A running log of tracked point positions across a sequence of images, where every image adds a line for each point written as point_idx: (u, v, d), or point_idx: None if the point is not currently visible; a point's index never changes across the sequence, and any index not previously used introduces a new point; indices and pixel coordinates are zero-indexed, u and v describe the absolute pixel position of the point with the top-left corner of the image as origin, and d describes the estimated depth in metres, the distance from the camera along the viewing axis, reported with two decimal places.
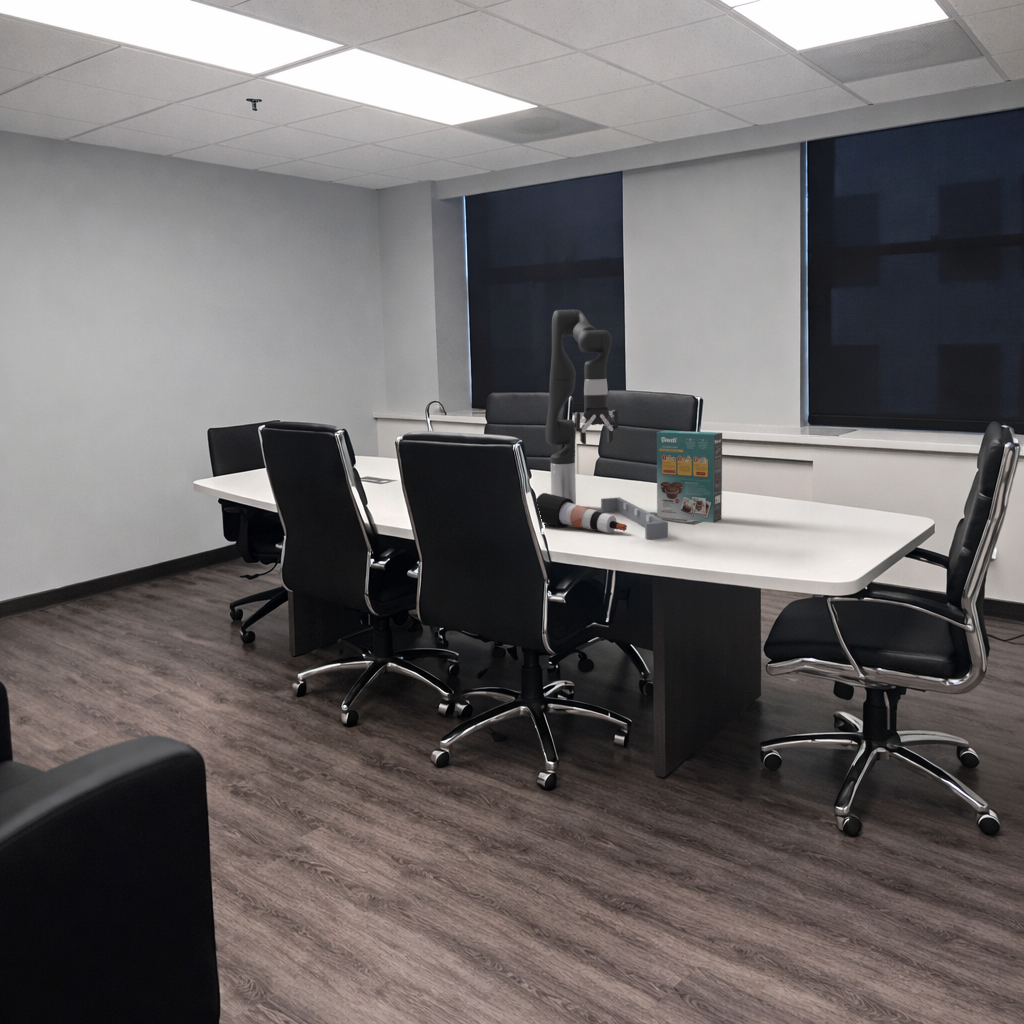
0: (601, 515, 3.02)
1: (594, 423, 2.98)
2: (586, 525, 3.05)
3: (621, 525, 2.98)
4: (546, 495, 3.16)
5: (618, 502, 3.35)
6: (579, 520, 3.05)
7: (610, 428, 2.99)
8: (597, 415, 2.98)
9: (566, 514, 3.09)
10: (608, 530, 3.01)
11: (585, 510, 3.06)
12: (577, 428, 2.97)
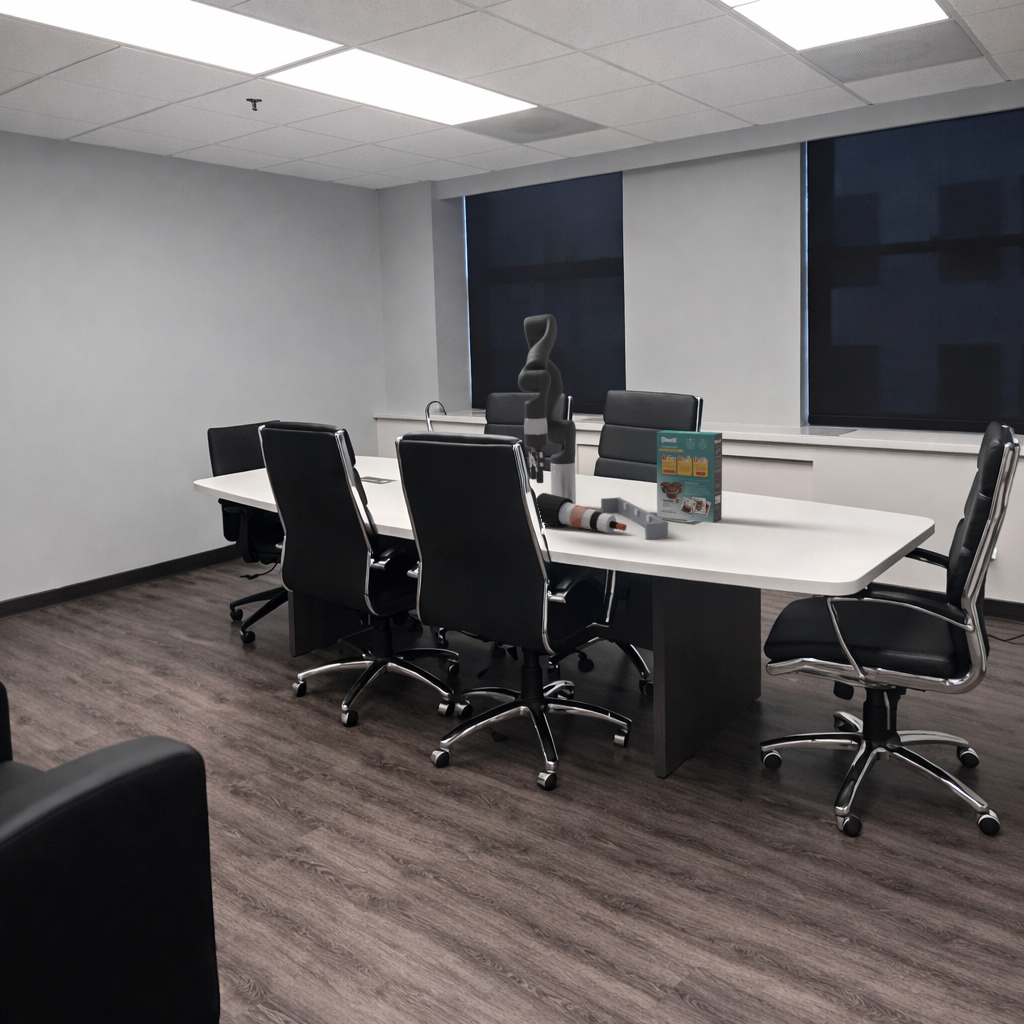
0: (601, 515, 3.02)
1: None
2: (586, 525, 3.05)
3: (621, 525, 2.98)
4: (546, 495, 3.16)
5: (618, 502, 3.35)
6: (579, 520, 3.05)
7: None
8: None
9: (566, 514, 3.08)
10: (608, 530, 3.01)
11: (585, 510, 3.06)
12: None
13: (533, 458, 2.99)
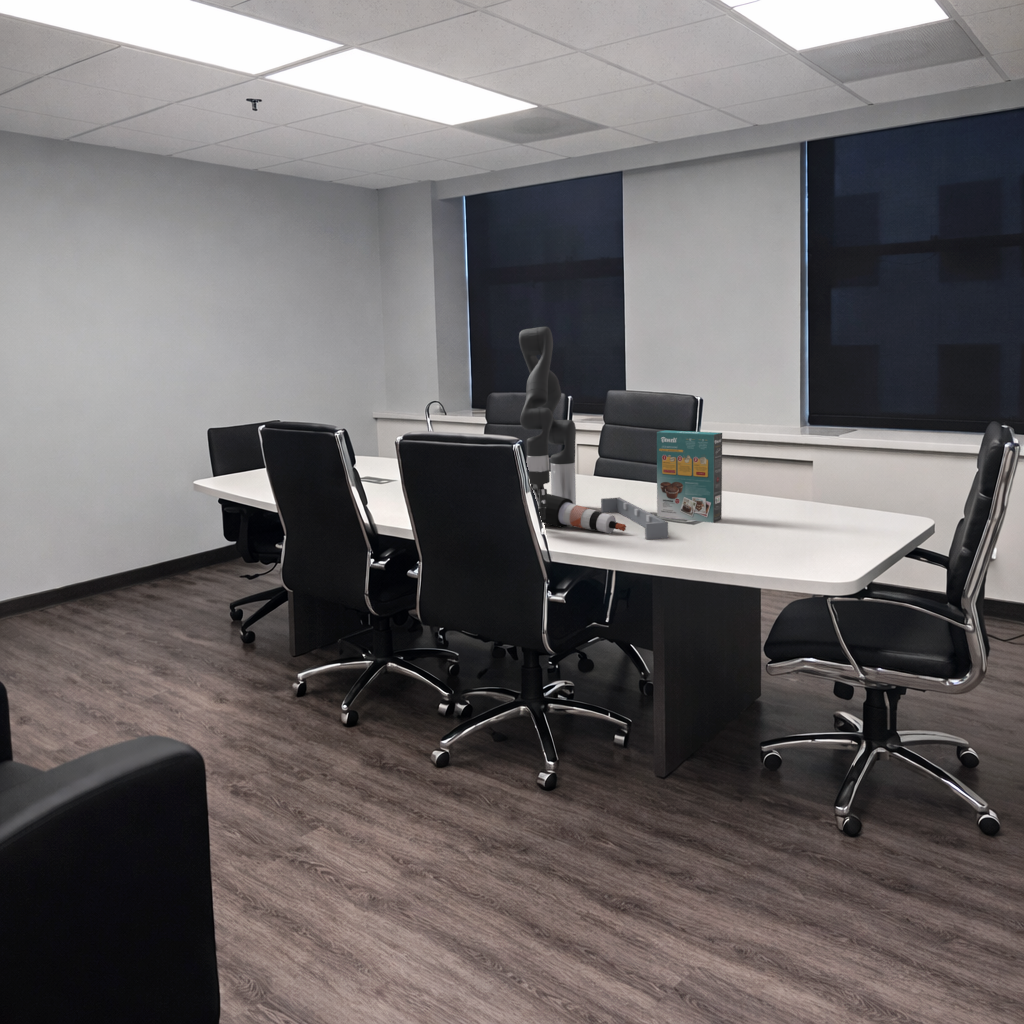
0: (600, 515, 3.02)
1: None
2: (585, 525, 3.04)
3: (620, 525, 2.98)
4: None
5: (618, 502, 3.35)
6: (578, 520, 3.05)
7: None
8: None
9: (565, 514, 3.08)
10: (607, 530, 3.01)
11: (584, 510, 3.05)
12: None
13: (535, 495, 3.02)
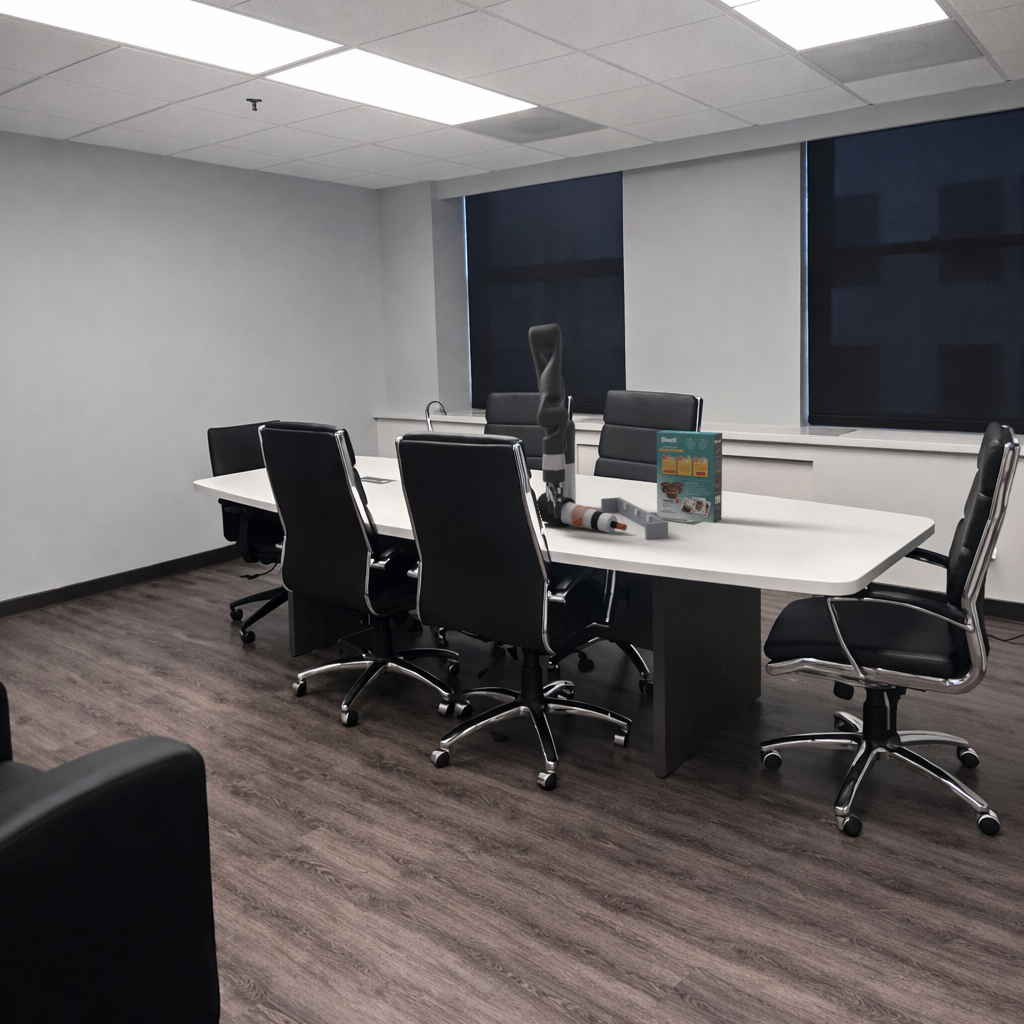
0: (602, 515, 3.02)
1: None
2: (587, 525, 3.05)
3: (621, 525, 2.98)
4: None
5: (618, 502, 3.35)
6: (580, 520, 3.06)
7: None
8: None
9: (567, 514, 3.09)
10: (608, 530, 3.01)
11: (586, 510, 3.06)
12: None
13: (551, 493, 3.02)
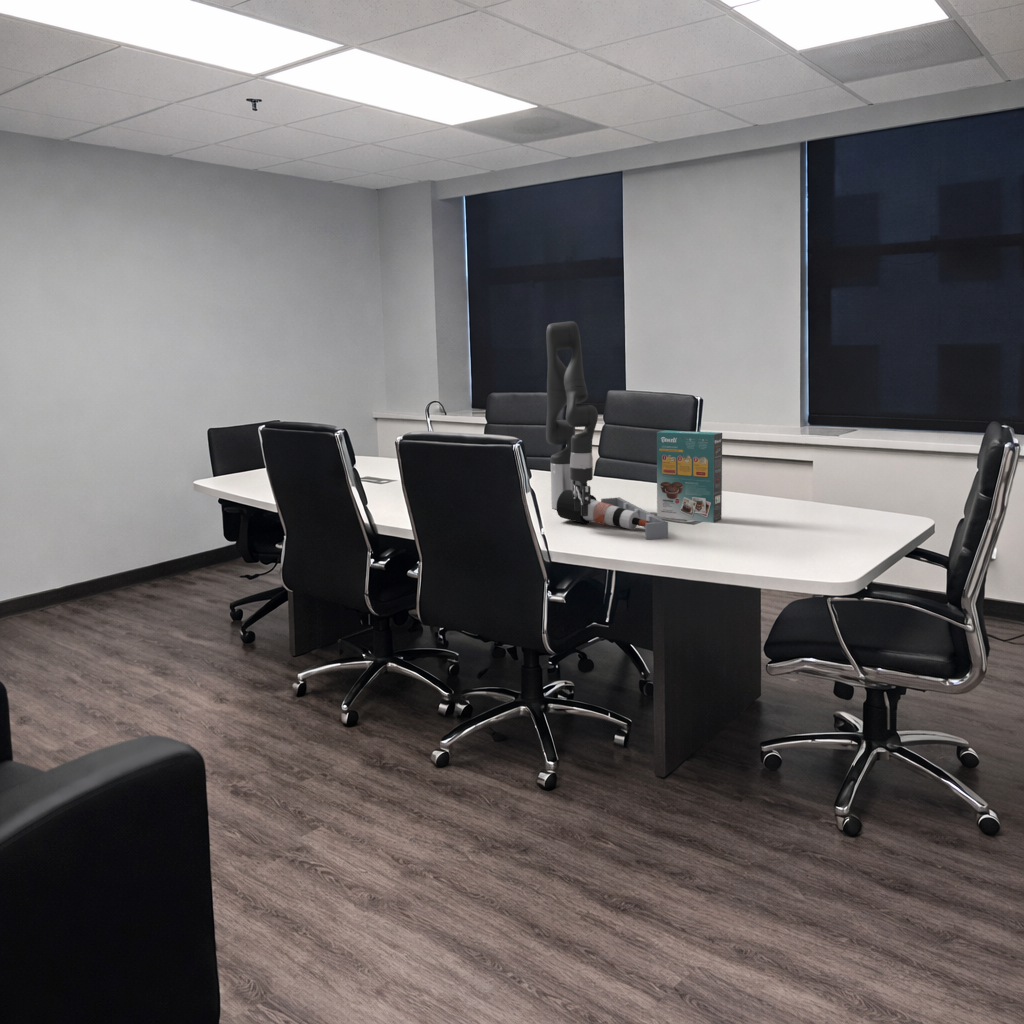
0: (624, 511, 3.06)
1: None
2: (609, 521, 3.09)
3: (643, 521, 3.02)
4: (569, 492, 3.20)
5: (618, 502, 3.35)
6: (602, 516, 3.09)
7: None
8: None
9: (589, 510, 3.13)
10: (630, 526, 3.05)
11: (608, 507, 3.10)
12: None
13: (578, 491, 3.05)
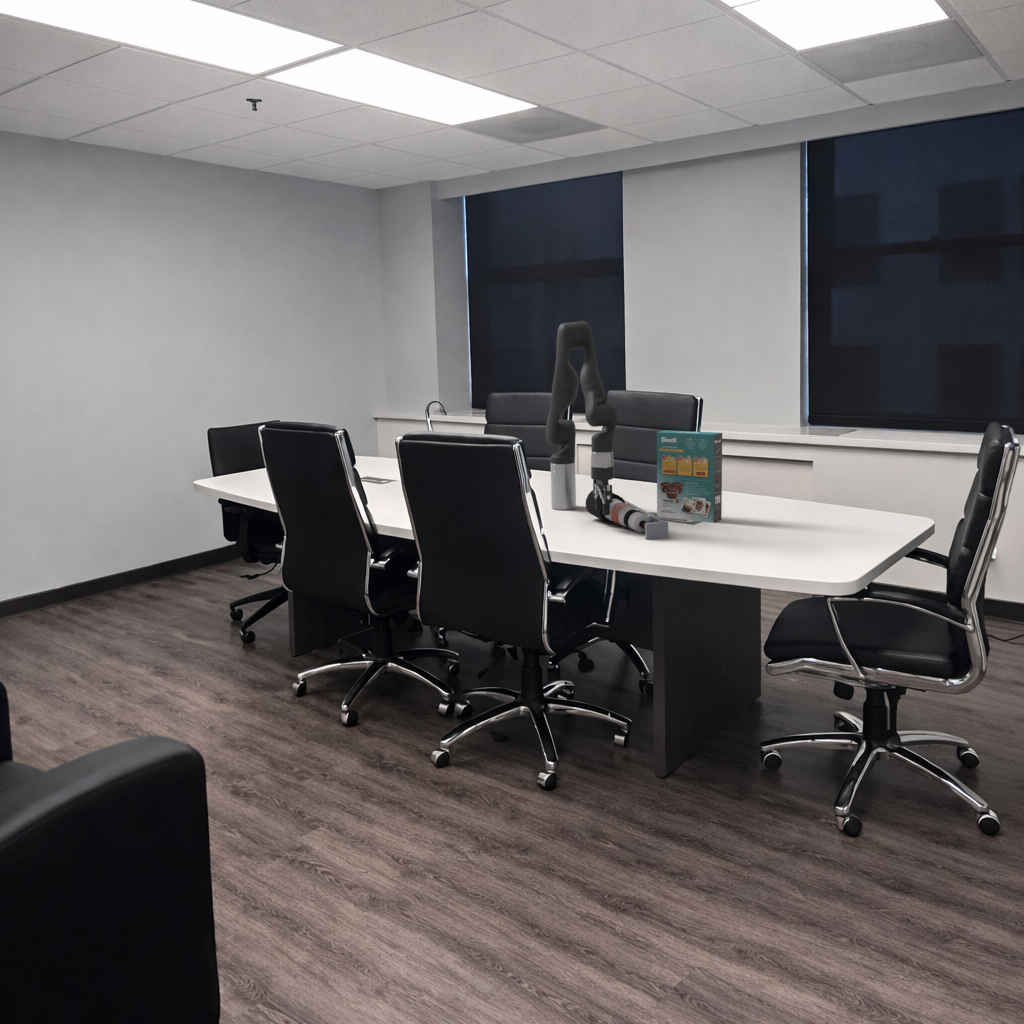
0: (633, 513, 3.01)
1: None
2: (621, 522, 3.06)
3: None
4: None
5: None
6: (616, 517, 3.08)
7: None
8: None
9: None
10: (637, 529, 3.00)
11: (623, 507, 3.07)
12: (612, 500, 3.03)
13: (600, 490, 3.06)
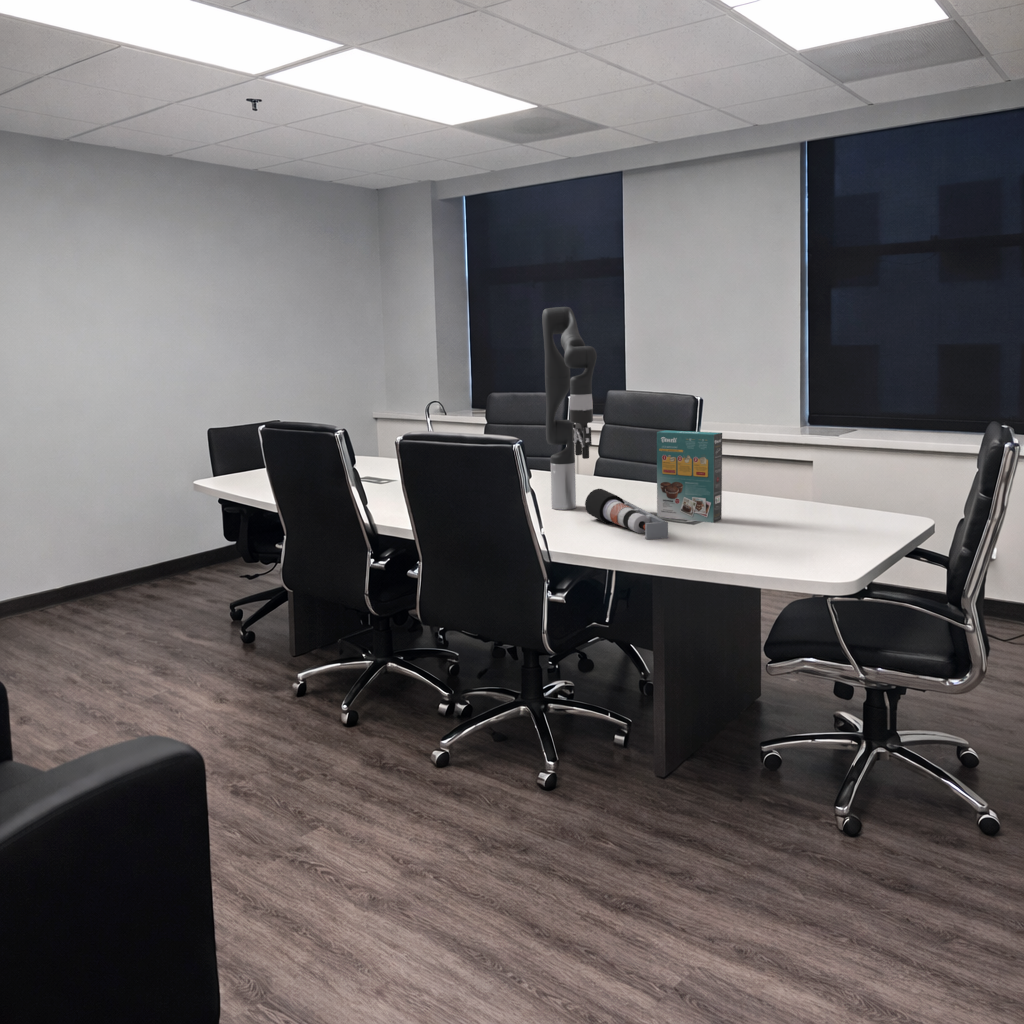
0: (633, 514, 3.01)
1: None
2: (621, 523, 3.06)
3: None
4: (598, 491, 3.21)
5: None
6: (615, 518, 3.08)
7: None
8: None
9: (607, 511, 3.12)
10: (637, 530, 3.00)
11: (622, 508, 3.07)
12: (591, 443, 2.99)
13: (579, 434, 3.02)
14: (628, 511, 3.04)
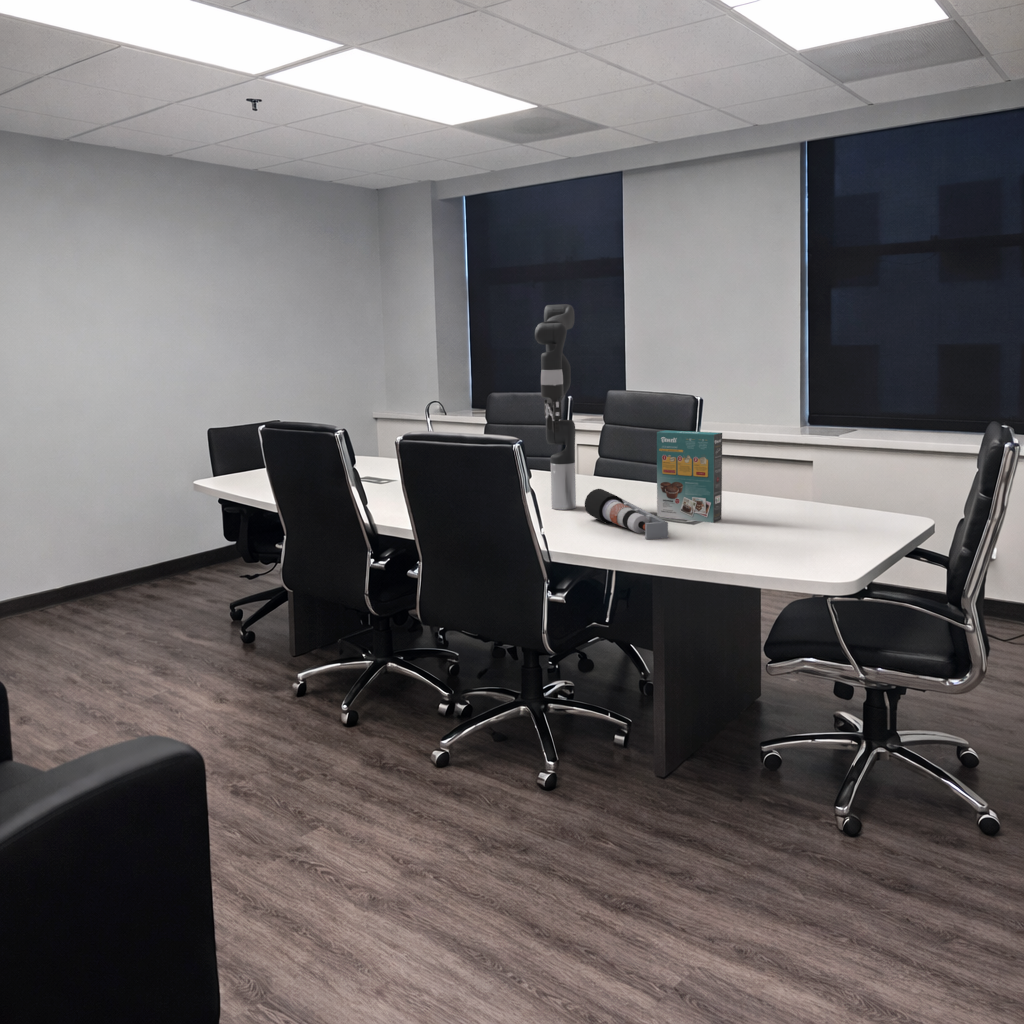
0: (632, 514, 3.01)
1: None
2: (620, 523, 3.06)
3: None
4: (598, 491, 3.21)
5: None
6: (615, 518, 3.07)
7: None
8: None
9: (607, 511, 3.12)
10: (637, 530, 3.00)
11: (622, 508, 3.07)
12: None
13: (549, 408, 3.11)
14: (628, 511, 3.04)
